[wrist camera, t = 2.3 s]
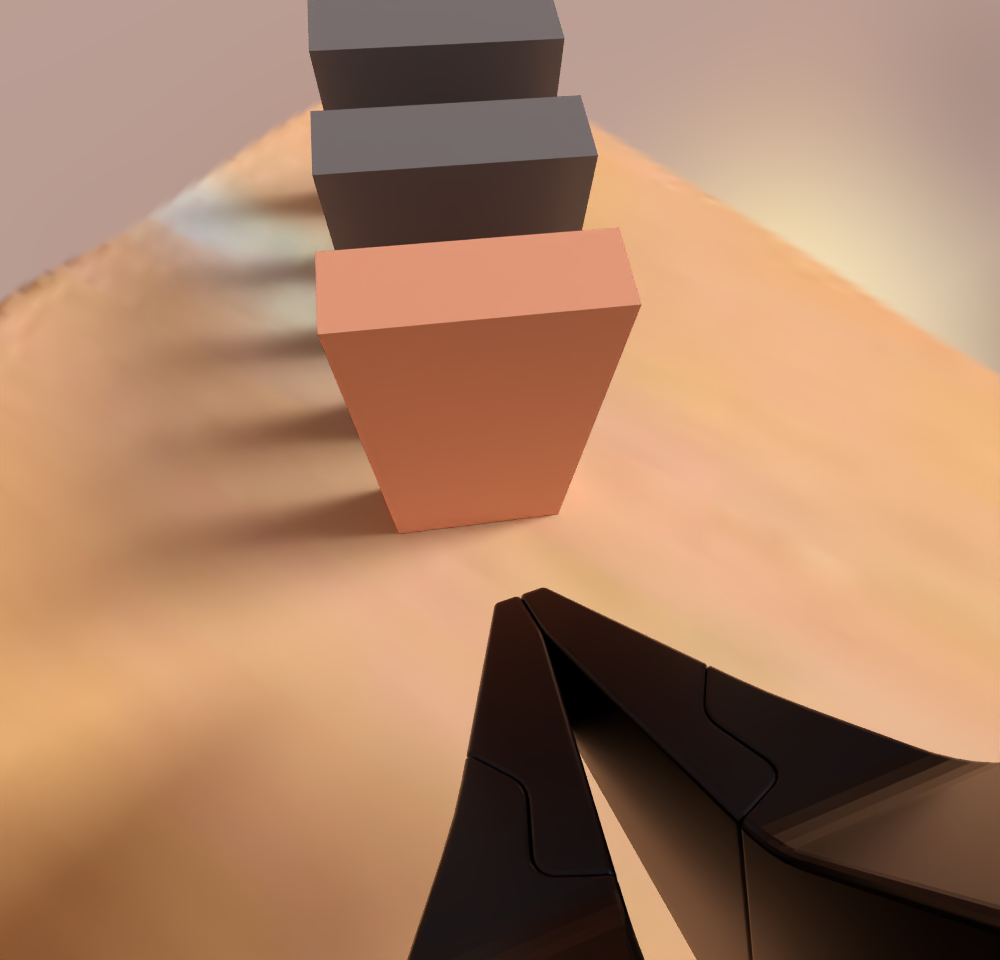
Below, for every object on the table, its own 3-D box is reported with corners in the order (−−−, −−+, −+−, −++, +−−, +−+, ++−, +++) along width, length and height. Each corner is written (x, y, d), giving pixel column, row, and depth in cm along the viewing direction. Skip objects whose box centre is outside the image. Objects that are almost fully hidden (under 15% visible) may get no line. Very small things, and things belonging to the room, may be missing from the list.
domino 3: (558, 513, 18) (641, 304, 9) (398, 533, 18) (317, 334, 9) (549, 467, 19) (618, 227, 10) (394, 485, 19) (315, 251, 9)
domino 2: (540, 422, 20) (597, 155, 10) (391, 438, 19) (312, 175, 10) (532, 381, 20) (580, 95, 11) (387, 396, 20) (310, 111, 11)
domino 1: (524, 340, 21) (564, 38, 12) (384, 354, 20) (309, 50, 11) (518, 304, 21) (550, -10, 12) (381, 317, 21) (307, 0, 12)
